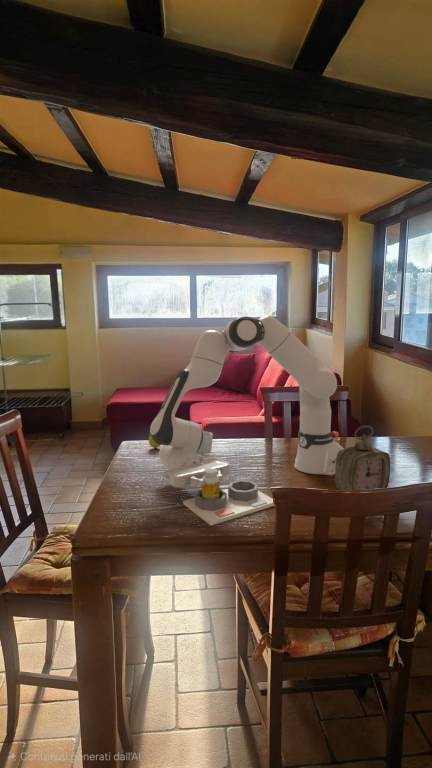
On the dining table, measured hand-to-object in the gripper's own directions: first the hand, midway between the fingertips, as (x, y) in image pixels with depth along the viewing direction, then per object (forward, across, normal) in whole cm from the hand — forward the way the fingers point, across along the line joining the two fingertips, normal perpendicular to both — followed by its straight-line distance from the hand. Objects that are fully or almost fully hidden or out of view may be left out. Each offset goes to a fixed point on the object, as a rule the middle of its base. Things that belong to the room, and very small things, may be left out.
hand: (212, 481), depth 139 cm
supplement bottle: (-1, 0, +7) cm, 7 cm away
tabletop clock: (+22, +40, +9) cm, 46 cm away
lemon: (-60, +10, +9) cm, 62 cm away
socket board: (+1, +6, +9) cm, 11 cm away
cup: (-46, +25, +9) cm, 53 cm away
